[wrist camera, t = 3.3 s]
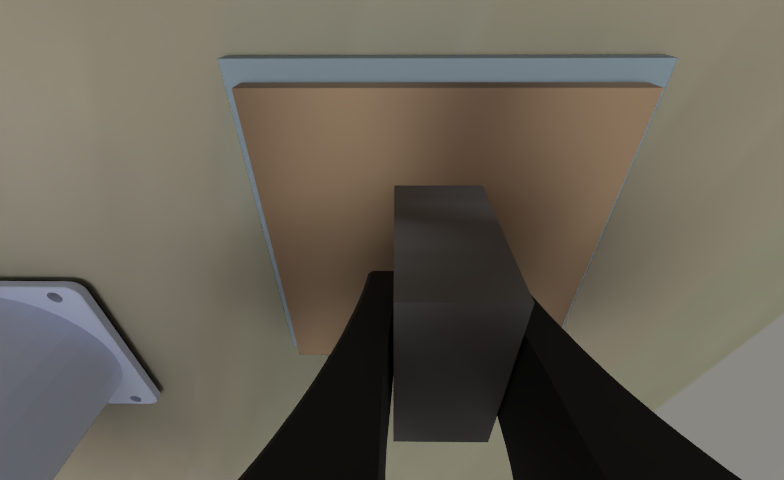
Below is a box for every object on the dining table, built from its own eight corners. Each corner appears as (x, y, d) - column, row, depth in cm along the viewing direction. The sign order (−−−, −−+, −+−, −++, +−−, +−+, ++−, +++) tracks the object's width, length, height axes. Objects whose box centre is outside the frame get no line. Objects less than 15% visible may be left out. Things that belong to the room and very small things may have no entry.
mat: (296, 337, 15) (294, 347, 15) (225, 55, 9) (217, 58, 8) (549, 339, 15) (553, 348, 15) (665, 54, 9) (678, 58, 8)
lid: (302, 342, 14) (265, 479, 10) (241, 82, 9) (100, 164, 4) (544, 343, 14) (603, 483, 10) (648, 82, 8) (880, 165, 4)
